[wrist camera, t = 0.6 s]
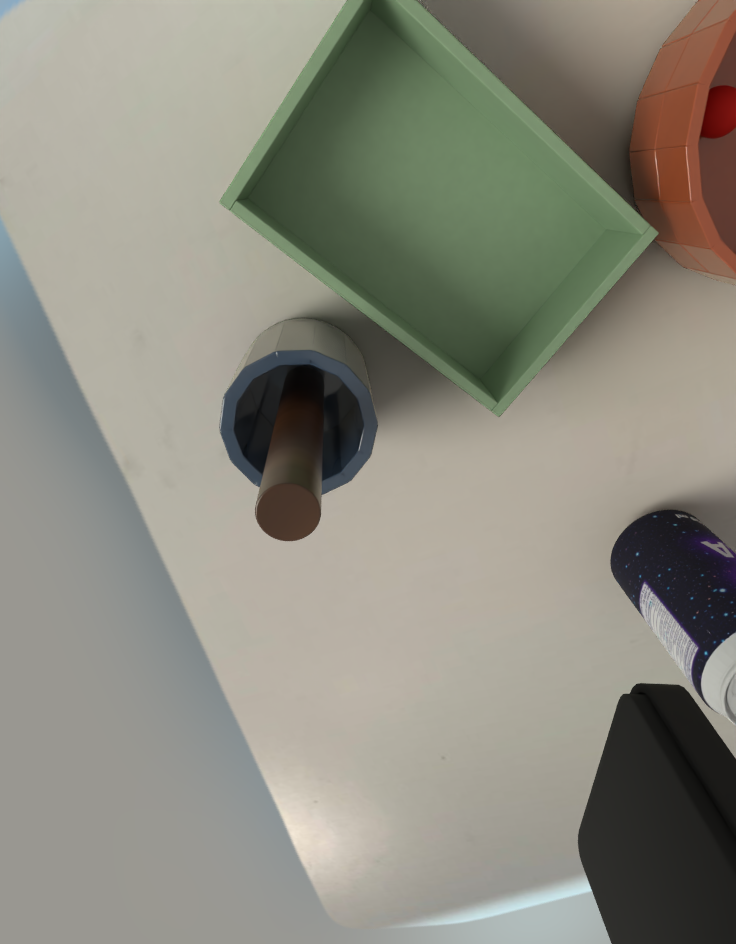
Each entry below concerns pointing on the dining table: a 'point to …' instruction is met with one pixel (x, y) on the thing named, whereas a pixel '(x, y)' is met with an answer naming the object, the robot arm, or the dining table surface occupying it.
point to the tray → (436, 200)
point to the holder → (261, 387)
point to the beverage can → (685, 598)
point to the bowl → (689, 144)
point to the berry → (719, 112)
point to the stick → (294, 460)
